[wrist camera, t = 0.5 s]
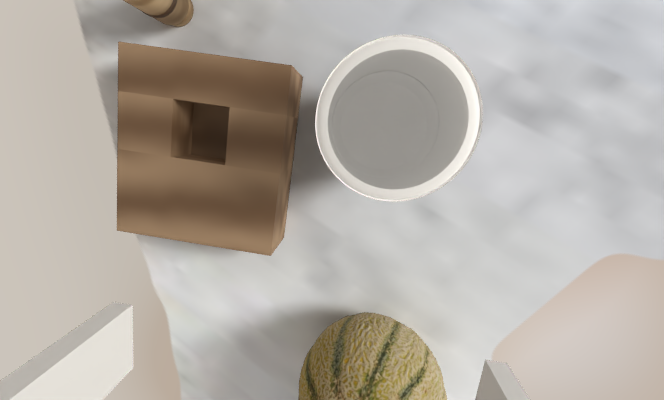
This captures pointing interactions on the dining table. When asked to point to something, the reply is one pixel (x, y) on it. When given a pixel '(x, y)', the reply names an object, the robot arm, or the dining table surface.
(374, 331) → the cantaloupe
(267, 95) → the wooden block with hole
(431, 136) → the jar
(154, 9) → the peg
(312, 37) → the dining table surface
